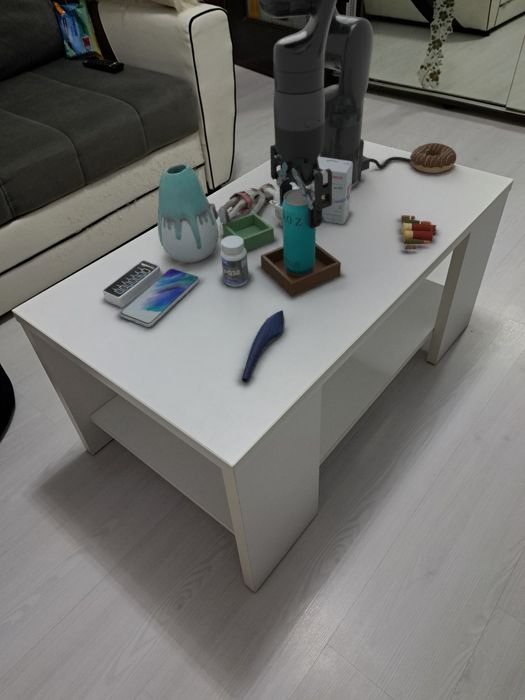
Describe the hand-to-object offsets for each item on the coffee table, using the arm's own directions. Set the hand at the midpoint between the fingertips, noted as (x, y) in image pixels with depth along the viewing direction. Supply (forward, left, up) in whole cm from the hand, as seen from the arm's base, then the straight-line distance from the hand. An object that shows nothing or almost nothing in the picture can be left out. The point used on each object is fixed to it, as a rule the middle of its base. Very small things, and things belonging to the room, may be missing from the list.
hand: (300, 215), depth 85 cm
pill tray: (+2, -16, -12) cm, 20 cm away
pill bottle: (+11, -5, -12) cm, 17 cm away
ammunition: (-23, +2, -11) cm, 26 cm away
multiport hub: (+28, -14, -12) cm, 34 cm away
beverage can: (0, 0, -11) cm, 12 cm away
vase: (+14, -18, -12) cm, 26 cm away
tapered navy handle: (+16, +13, -12) cm, 24 cm away
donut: (-50, -17, -12) cm, 54 cm away
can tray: (0, 0, -12) cm, 12 cm away
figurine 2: (-8, -15, -12) cm, 21 cm away
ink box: (-16, -13, -12) cm, 24 cm away
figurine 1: (-2, -24, -12) cm, 27 cm away
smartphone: (+25, -8, -12) cm, 29 cm away
